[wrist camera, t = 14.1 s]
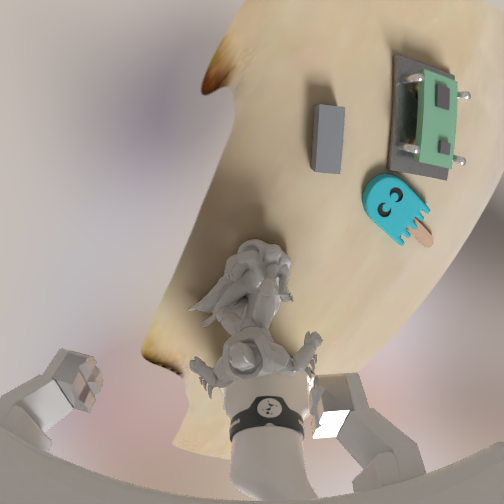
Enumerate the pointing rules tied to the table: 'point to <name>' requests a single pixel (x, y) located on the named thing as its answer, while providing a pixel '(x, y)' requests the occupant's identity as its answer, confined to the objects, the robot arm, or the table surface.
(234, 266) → the figurine
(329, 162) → the grey rectangular block
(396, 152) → the chassis
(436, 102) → the board
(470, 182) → the table surface
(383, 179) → the toy
